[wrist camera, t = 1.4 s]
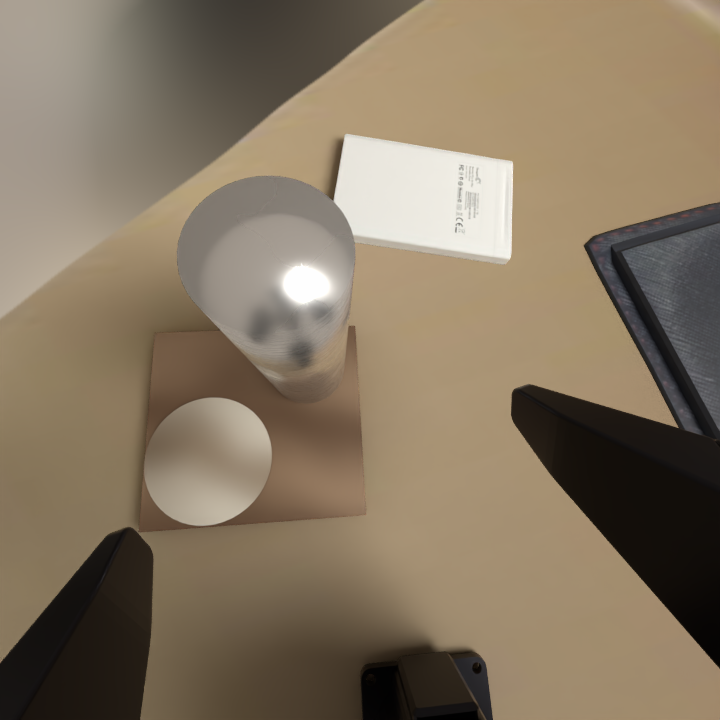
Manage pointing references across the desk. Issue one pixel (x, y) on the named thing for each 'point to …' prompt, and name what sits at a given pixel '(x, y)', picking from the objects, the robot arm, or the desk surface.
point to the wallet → (671, 306)
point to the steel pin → (274, 279)
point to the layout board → (244, 441)
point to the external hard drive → (426, 199)
